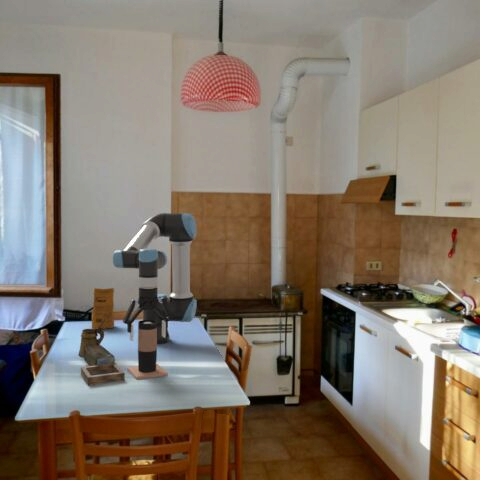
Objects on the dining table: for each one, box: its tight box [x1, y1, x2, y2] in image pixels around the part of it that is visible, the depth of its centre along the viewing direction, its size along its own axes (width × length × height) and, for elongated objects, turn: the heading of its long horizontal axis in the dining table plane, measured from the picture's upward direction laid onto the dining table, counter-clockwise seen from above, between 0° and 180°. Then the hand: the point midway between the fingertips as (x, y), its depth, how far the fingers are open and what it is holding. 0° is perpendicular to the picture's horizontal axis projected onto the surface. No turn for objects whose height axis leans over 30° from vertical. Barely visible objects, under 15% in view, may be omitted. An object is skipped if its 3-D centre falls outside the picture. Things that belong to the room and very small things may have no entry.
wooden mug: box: [78, 316, 109, 358], centre depth 242 cm, size 9×14×18 cm, turn 93°
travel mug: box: [137, 319, 158, 373], centre depth 217 cm, size 8×8×20 cm
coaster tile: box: [126, 363, 169, 380], centre depth 218 cm, size 13×13×1 cm
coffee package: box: [91, 287, 115, 330], centre depth 295 cm, size 10×12×22 cm
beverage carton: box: [83, 344, 116, 366], centre depth 227 cm, size 8×19×7 cm, turn 32°
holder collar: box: [80, 362, 126, 386], centre depth 210 cm, size 14×14×3 cm
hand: (147, 338), depth 217 cm, fingers open, 13 cm apart
